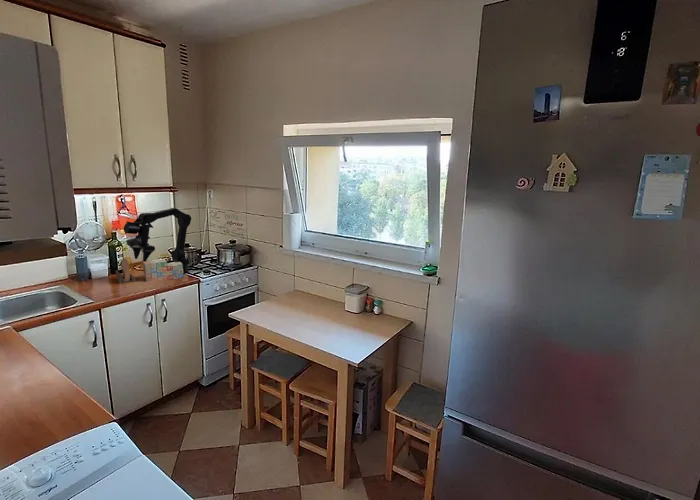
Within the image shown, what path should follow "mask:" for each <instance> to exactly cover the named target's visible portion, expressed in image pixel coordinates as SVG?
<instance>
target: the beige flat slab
mask: <svg viewBox="0 0 700 500" xmlns="http://www.w3.org/2000/svg"><path fill="white" fill-rule="evenodd" d="M129 263H130V262H129V261H128V260H127V259H121V266H122V267H121V268H122V276H123V277H124V279H125V281H130V273H131V272H130V265H129Z"/></svg>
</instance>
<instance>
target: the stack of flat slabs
mask: <svg viewBox="0 0 700 500" xmlns="http://www.w3.org/2000/svg"><path fill="white" fill-rule="evenodd" d="M129 273H130V281H125V279H124V277H123V274H121V273H120V272H119V271H118V270H115V277H116V278H115V279H116V281H118V282H119V284H120V285H122V284H127V283H128V284H129V283H134V282H135V283H136V282H138V280H137V279H136V278H135V276H133V275H132V273H131V272H129Z"/></svg>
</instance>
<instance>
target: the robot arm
mask: <svg viewBox="0 0 700 500" xmlns="http://www.w3.org/2000/svg"><path fill="white" fill-rule="evenodd" d="M170 216H174V218H176V219H177V224H178V225H177V226H178V232H177V238H176V246H175V249H174V250H172V251H171V255H170V257H171V260H172V261H174V262H173V263H175V262H181V263H182V264H183V275H185V274H189V273H190V271H189V269H188V268H189V267H188V265H189V264H190V260H189V259H187V258H186V257H187V256H186V251H185V245H186V237H187V232H188V228H189V226H190V225H191V223H192V222H191V221H192V216H191V215H190V214H188V213H185V212H184V211H181V210H180V209H178V208H176V207H171V208H167V209H163V210H159V211H155V212H141V213H139V215H138V217H137V218H136V219H135V220H134V221H126V223H125V224H124V226H123V232H124V234H128V235H129V234H130V235H135V237H133V238H129V239H126V241H125V242H126V246H128V247H129V248H130V249H131V250H132V252H133V255H134V259H135V260H137V259H138V258H139V256H140V253H141V252H142V263H143V262H146V261H147V260H148V258H149V257H150V256H151V255H152V253H153V252H154V251H156V247H155V246H154V245H151V244H150V243H149V240H150V239H151V236H150V228H152V229H154V226H153V225H152V223H154V222H156V220H159V219H162V218H163V219H164V218H166V217H170ZM188 272H189V273H188Z"/></svg>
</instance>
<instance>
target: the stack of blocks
mask: <svg viewBox="0 0 700 500" xmlns="http://www.w3.org/2000/svg"><path fill="white" fill-rule="evenodd" d="M142 266H143V267H142V269H143V275H144V278H143V279H144V281H146V282H147V283H148V282H154V281H160V280H161V281H162V280H168V281H171V280H178V279H184V277H185V276H184V275H185V274H183V264H182V263H181V262H169V263H168V261H167V260H166V259H165V258H163V259H156V260H148V261H147V260H146V261H145V262H143V261H142Z"/></svg>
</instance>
